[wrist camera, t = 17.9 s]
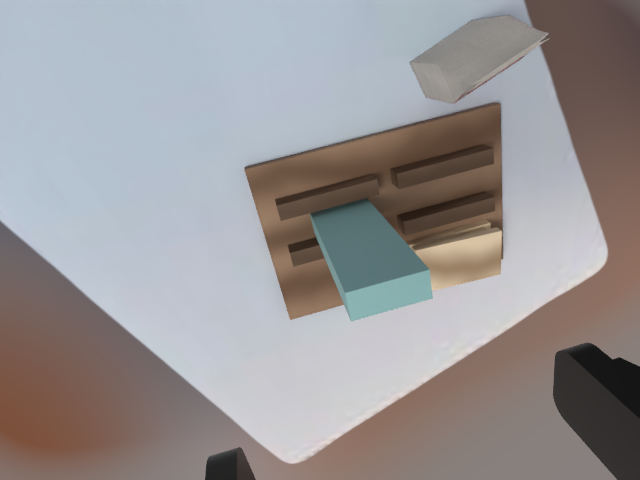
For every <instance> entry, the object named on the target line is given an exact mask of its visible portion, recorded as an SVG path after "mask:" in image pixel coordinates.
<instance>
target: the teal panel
mask: <svg viewBox="0 0 640 480" xmlns="http://www.w3.org/2000/svg"><path fill="white" fill-rule="evenodd" d="M310 217H311V221H312V226H313V230H314V233H315V236H316V238H317V240H318V243H319V245H320V248H321V250H322V253H323V255H324V257H325V260H326V262H327V265H328V267H329V269H330V272H331V274H332V277H333V279H334V281H335V284H336V286H337V289H338V291H339V293H340V296H341V298H342V301H343V303H344V306H345V308H346V310H347V313H348V315H349V318H350V320H351V321H354V320H358V319H361V318H365V317H368V316H372V315H375V314H379V313H382V312H386V311H389V310H393V309H396V308H400V307H404V306H407V305H411V304H414V303H418V302H421V301H425V300H428V299H432V298H433V297H432V287H431V277H430V269H429V268H428V267H427V266H426V265H425V264H424V262H423V261H422V260H421V259H420V258H419V257H418V256H417V254H416V253H415V252H414V251H413V250H412V249H411V248H410V247H409V245H408V244H407V243H406V242H405V241H404V240H403V239H402V237H401V236H400V235H399V234H398V233H397V232H396V231H395V229H394V228H393V227H392V226H391V225H390V224H389V223H388V221H387V220H386V219H385V218H384V217H383V216H382V215H381V213H380V212H379V211H378V210H377V209H376V208H375V207H374V206H373V204H372V203H371V202H370V201H369V200H368V199H367V198H365V199H361V200H358V201H354V202H350V203H346V204H343V205H339V206H335V207H332V208H328V209H324V210H320V211H317V212H313V213H310Z"/></svg>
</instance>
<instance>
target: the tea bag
mask: <svg viewBox="0 0 640 480" xmlns="http://www.w3.org/2000/svg"><path fill="white" fill-rule="evenodd" d="M548 34H549V33H546V32H542V31H540V30H537V29H535V28H533V27H531V26H529V25H527V24H525V23H523V22H521V21H519V20H518V19H516V18H514V17H512V16H510V15H504V16H497V17H490V18H484V19H477V20H471V21H470V22H468V23H467V24H465V25H464V26H462V27H461V28H459V29H458V30H456V31H455V32H453V33H452V34H451V35H449V36H448V37H446V38H445V39H443V40H442V41H440V42H439V43H437V44H436V45H434V46H433V47H431V48H430V49H428V50H427V51H426V52H424V53H423V54H421V55H420V56H418V57H417V58H415V59H414V60H412V61H411V62H409V63H410V65H411V67H412V69H413V72H414V74H415V76H416V78H417V80H418V82H419V85H420V87H421V89H422V91H423V93H424V95H425V97H426V98H431V99H435V100H439V101H444V102H448V103H452V104H454V103H455V102H457V101H458V100H460V99H461V98H463V97H464V96H466V95H467V94H469V93H470V92H472V91H473V90H475V89H477V88H478V87H480V86H481V85H483V84H484V83H486V82H487V81H489V80H490V79H492V78H493V77H495V76H496V75H498V74H499V73H501V72H502V71H504V70H505V69H507V68H508V67H510V66H511V65H513V64H514V63H516V62H517V61H519V60H520V59H522V58H523V57H524V56H525V55H527V54H528V53H529V52H530V51H531V50H533V49H534V48H536V47H537V46H539V45H540V44H542V43H543V42H545V41H547V40H548V39H549V38H548V39H545V40H542V39H544V37H546V36H547V35H548Z"/></svg>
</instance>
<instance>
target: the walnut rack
mask: <svg viewBox="0 0 640 480" xmlns="http://www.w3.org/2000/svg"><path fill="white" fill-rule="evenodd" d="M245 172H246V176H247V179H248V182H249V186H250V189H251V192H252V196H253V199H254V202H255V205H256V209H257V212H258V215H259V219H260V222H261V225H262V228H263V232H264V235H265V238H266V242H267V245H268V248H269V251H270V255H271V258H272V261H273V265H274V268H275V271H276V274H277V278H278V281H279V284H280V288H281V291H282V294H283V297H284V301H285V304H286V307H287V311H288V314H289V317H290V320H292V319H295V318H299V317H302V316H306V315H309V314H313V313H316V312H320V311H323V310H327V309H330V308H334V307H337V306H341V305H344V303H343V301H342V298H341V296H340V293H339V291H338V289H337V286H336V284H335V281H334V279H333V277H332V274H331V272H330V269H329V267H328V265H327V262H326V260H325V257H324V255H323V253H322V250H321V248H320V245H319V243H318V240H317V238H316V236H315V233H314V230H313V226H312V221H311V217H310V213H313V212H317V211H320V210H324V209H328V208H332V207H335V206H339V205H343V204H346V203H350V202H354V201H358V200H361V199H365V198H367V199H368V200H369V201H370V202H371V203H372V204H373V206H374V207H375V208H376V209H377V210H378V211H379V212H380V213H381V215H382V216H383V217H384V218H385V219H386V220H387V221H388V223H389V224H390V225H391V226H392V227H393V228H394V229H395V231H396V232H397V233H398V234H399V235H400V236H401V237H402V239H403V240H404V241H405V242H406V241H410V240H413V239H417V238H421V237H424V236H428V235H431V234H435V233H439V232H442V231H446V230H449V229H453V228H457V227H460V226H464V225H467V224H471V223H475V222H478V221H482V220H485V219H486V220H487V221H489V222H490V224H491V228H495V227H497V228H499V229H500V230H502V246H501V259H503V227H502V170H501V113H500V104H499V103H492V104H488V105H484V106H480V107H476V108H472V109H469V110H465V111H461V112H457V113H453V114H449V115H445V116H441V117H438V118H434V119H430V120H426V121H422V122H418V123H414V124H410V125H407V126H403V127H399V128H395V129H391V130H387V131H383V132H379V133H376V134H372V135H368V136H364V137H360V138H356V139H352V140H348V141H345V142H341V143H337V144H333V145H329V146H325V147H321V148H317V149H314V150H310V151H306V152H302V153H298V154H294V155H290V156H286V157H283V158H279V159H275V160H271V161H267V162H263V163H259V164H255V165H252V166H248V167H245Z"/></svg>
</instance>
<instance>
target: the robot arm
mask: <svg viewBox="0 0 640 480" xmlns="http://www.w3.org/2000/svg"><path fill="white" fill-rule="evenodd" d="M553 396H554V401H555V404H556V407H557V409H558V411H559V413H560V414H561V416H562V417H563V419H564V420H565V421H566V422H567V423H568V424H569V426H570V427H571V428H572V429H573V430H574V431H575V432H576V433H577V434H578V436H579V437H580V438H581V439H582V440H583V441H584V442H585V444H586V445H587V446H588V447H589V448H590V449H591V450H592V452H593V453H594V454H595V455H596V456H597V457H598V458H599V459H600V461H601V462H602V463H603V464H604V465H605V466H606V467H607V468H608V470H609V471H610V472H611V473H612V474H613V475H614V476H615V477H616V479H617V480H640V367H639V366H637V365H635V364H632V363H631V362H628V361H626V360H624V359H622V358H620V357H619V358H616V359H613V360H612V359H611V358H610V357H609V356H608V355H606V354H605V353H604V352H602V351H601V350H600V349H599V348H597V347H596V346H595V345H593V344H591V343H584V344H580V345H578V346H574V347H571V348H568V349H564V350H561V351H559V352H557V353H556V355H555V367H554V387H553ZM205 480H256V479H255V477H254V474H253V472H252V470H251V468H250V465H249V463H248V461H247V459H246V456H245V454H244V452H243V450H242V448H240V447H239V448H235V449H232V450H229V451H225V452H222V453H219V454H216V455H213V456H210V457H209V458H208V460H207V465H206V477H205Z"/></svg>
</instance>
